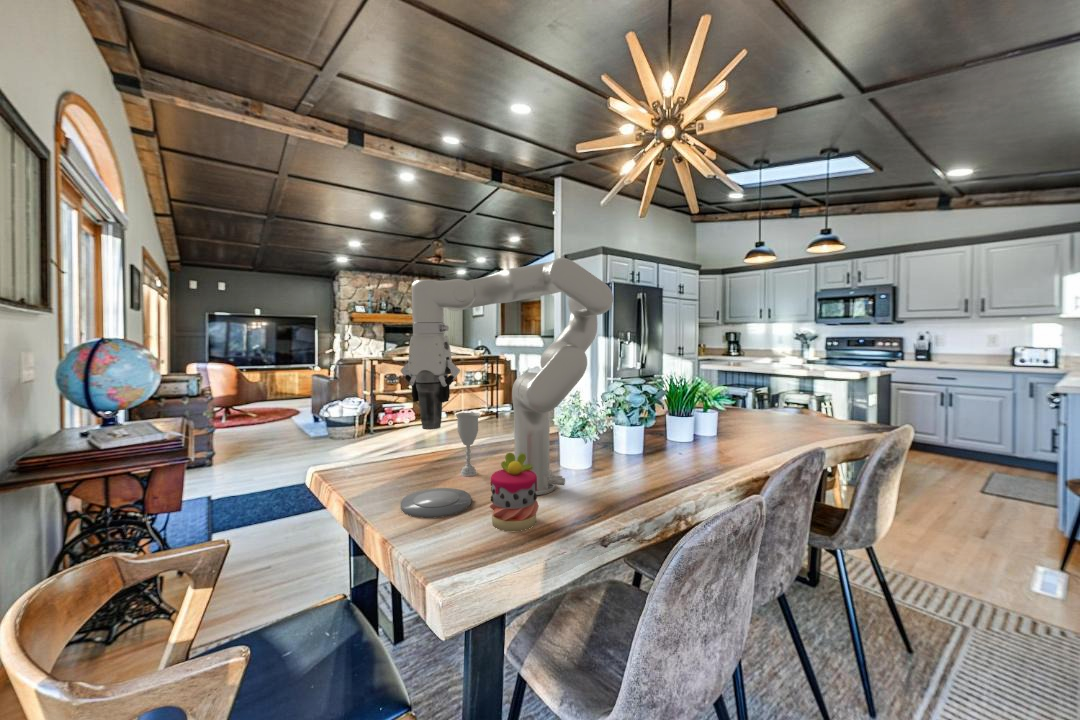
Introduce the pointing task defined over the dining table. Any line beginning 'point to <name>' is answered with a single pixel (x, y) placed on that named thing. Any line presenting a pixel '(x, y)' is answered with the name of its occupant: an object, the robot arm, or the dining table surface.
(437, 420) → the beverage cup
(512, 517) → the cake
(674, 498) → the dining table surface
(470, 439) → the chalice
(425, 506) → the dish
